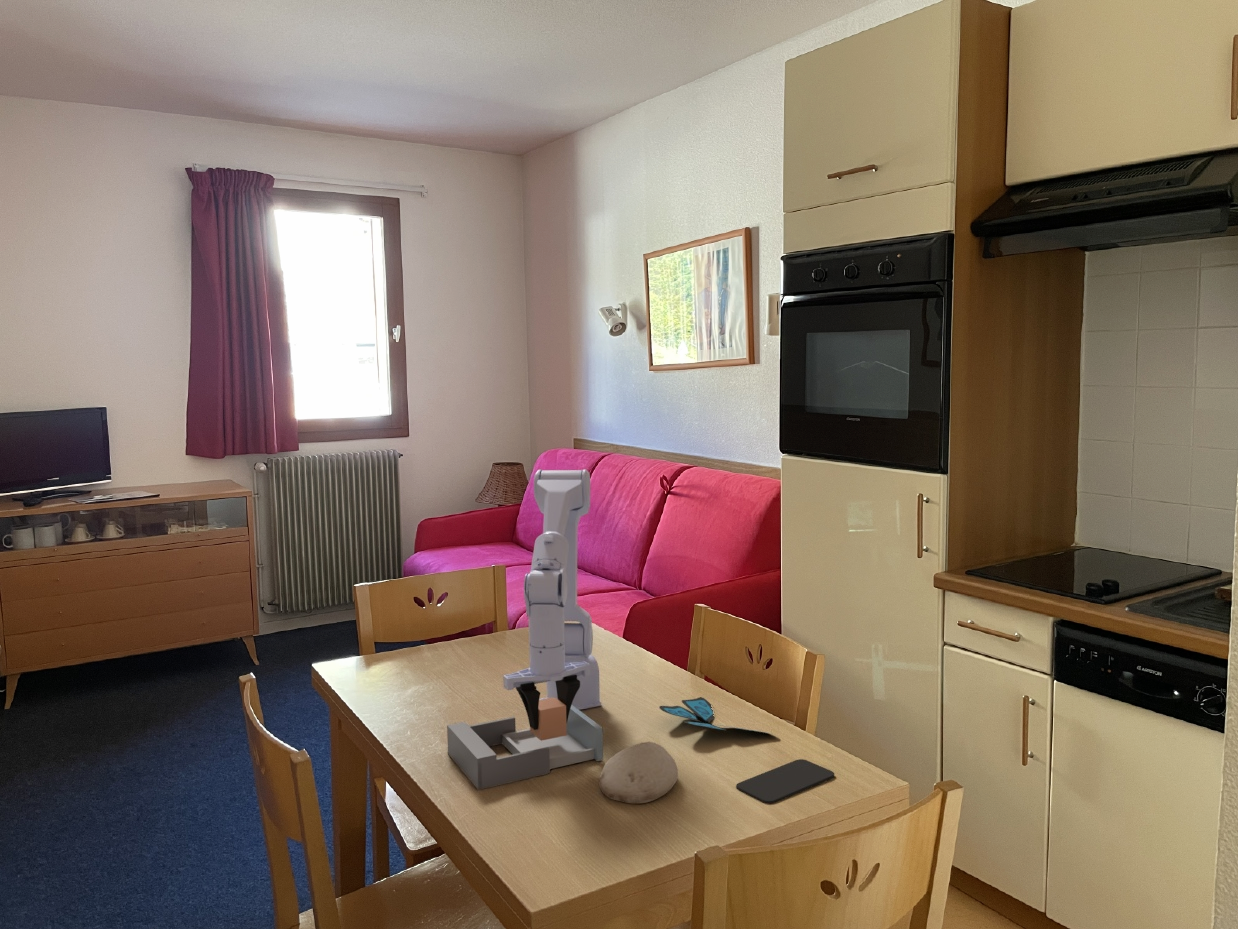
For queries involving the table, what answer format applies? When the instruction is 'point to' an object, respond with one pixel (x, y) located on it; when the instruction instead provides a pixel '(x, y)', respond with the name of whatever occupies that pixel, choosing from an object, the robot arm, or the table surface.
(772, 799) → the phone
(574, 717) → the tray
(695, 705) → the decorative butterfly
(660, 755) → the stone
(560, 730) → the block
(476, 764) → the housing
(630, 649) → the table surface
